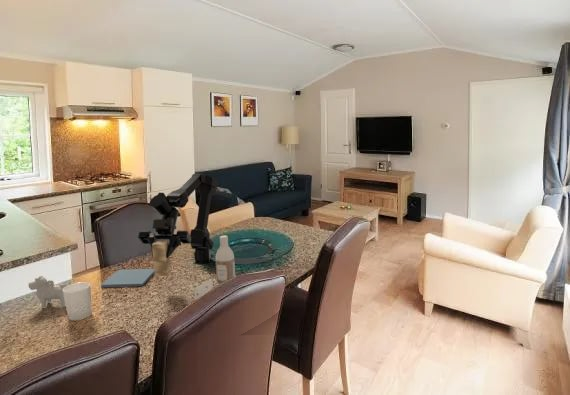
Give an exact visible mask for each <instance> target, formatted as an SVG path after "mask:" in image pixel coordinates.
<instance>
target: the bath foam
mask: <svg viewBox="0 0 570 395" xmlns="http://www.w3.org/2000/svg"><path fill="white" fill-rule="evenodd" d="M215 271H216V273H215V274H216V285H219V284H221V283H223V282H225V281H227V280H229V279H231V278H233V277H235V278H236V265H235V254H234V251H233V250H232V249H231V247H230V246H229V237H228V235H225V234H224V235H220V236H219V247H218V249H217V251H216V254H215Z"/></svg>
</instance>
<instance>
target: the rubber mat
mask: <svg viewBox="0 0 570 395" xmlns="http://www.w3.org/2000/svg"><path fill="white" fill-rule="evenodd" d="M153 275H155V272H154V268H134V269H118V270H116V272H114V273H113V274H112V275H110V277H109V278H107V279H106V280H105V281H103V282H102V284H101V285H100V287H101V288H120V287H121V288H122V287H123V288H124V287H127V288H128V287H144V286H145V285H146V283H147V282H148V281H149V280H150V279H151V277H152V276H153Z"/></svg>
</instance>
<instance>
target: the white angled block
mask: <svg viewBox="0 0 570 395" xmlns="http://www.w3.org/2000/svg"><path fill="white" fill-rule="evenodd" d="M213 287H214V286H213V278H209V279H208V280H206V281H204V282H203V283H201V284H199V285H197V286H196V287H195V288H194V301H195V300H196V299H198V298H199V297H201V296H202V295H204V294H205V293H207V292H208V291H210V290H211V289H212V288H213ZM213 289H214V288H213Z"/></svg>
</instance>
